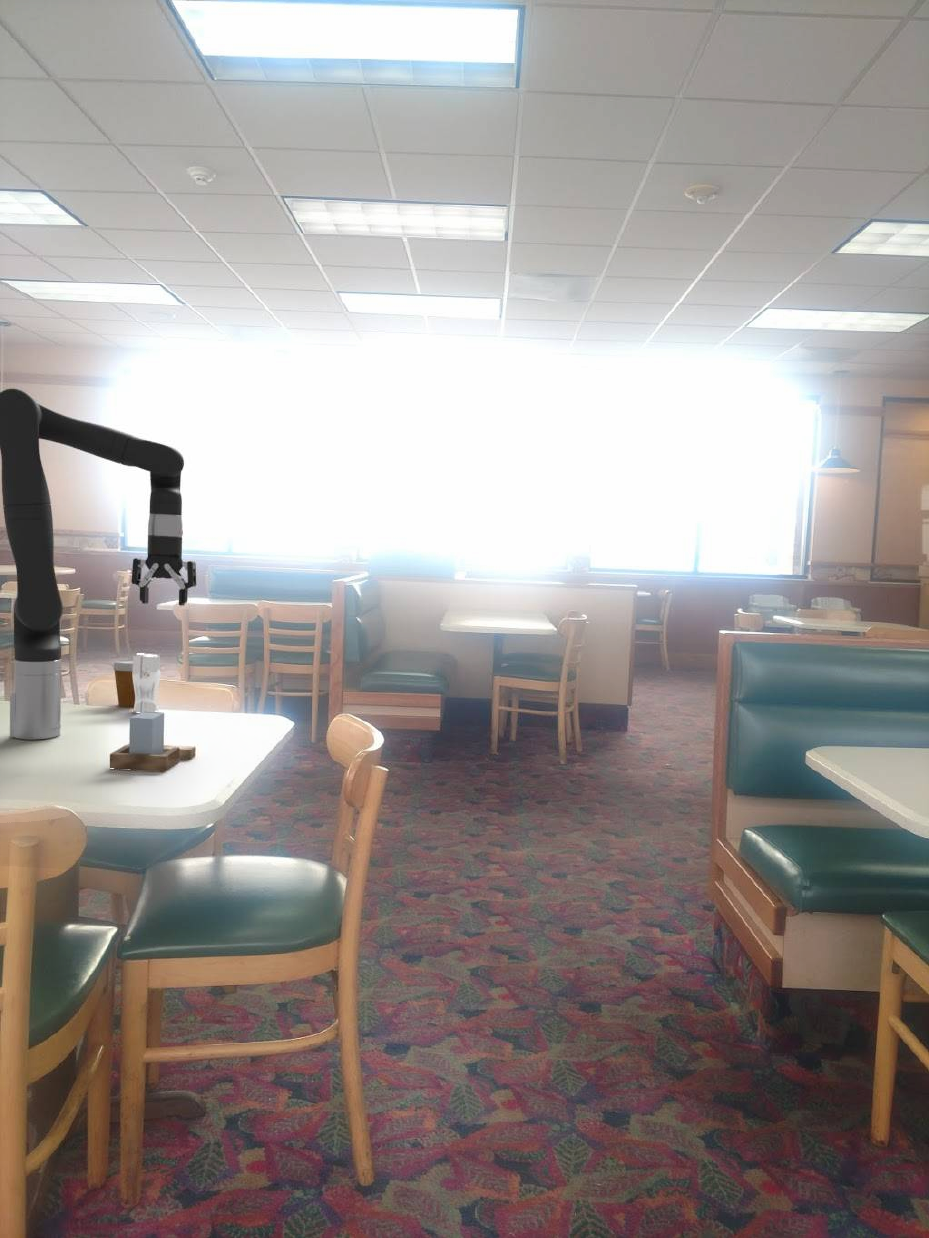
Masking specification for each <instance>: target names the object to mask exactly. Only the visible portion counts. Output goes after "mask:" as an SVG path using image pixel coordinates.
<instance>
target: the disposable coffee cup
mask: <svg viewBox="0 0 929 1238" xmlns="http://www.w3.org/2000/svg"><path fill="white" fill-rule="evenodd" d="M132 664H133V658H132V659H131V658H130V659H129V658H128V659H126V658H125V659H117V660H114V663H113V665H112V668H113V670H114V678H115V684H116V685H115V686H116V687H115V688H116V695H117V702H118V707H123V708H134V704H135V692H134V686H133V679H132Z"/></svg>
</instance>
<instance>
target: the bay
mask: <svg viewBox="0 0 929 1238" xmlns="http://www.w3.org/2000/svg"><path fill="white" fill-rule="evenodd" d="M178 762H179V763H180V759H179V748H177V747H173V748H172V749H170V750H169V751H167V752H166V753H164V754H163V755H154V754H132V753H129V745H127V744H125V745H124V746H122V747H120V748H118V749H116V750H114V751H113V752H111V753H110V754H109V769H110V768H114V769H113V770H115V769H130V770H129V771H137V770H145V771H144V772H159V771H166V772H168V771H169V770H171V769H172V768H173V767H174V766H176V765H177V764H178Z"/></svg>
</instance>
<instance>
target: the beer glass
mask: <svg viewBox="0 0 929 1238" xmlns="http://www.w3.org/2000/svg"><path fill="white" fill-rule="evenodd" d="M132 659H133V664H132V679H133V686H134V692H135V704H134V707H133V709H132V712H133V713H134V712H140V713H141V712H155V711H159V707H158V702H157V701H158V700H157V697H158V690H159V686H160V679H161V672H162V671H161V670H162V669H161V655H160V654H159V653H136V654H133V657H132Z"/></svg>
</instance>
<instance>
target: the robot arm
mask: <svg viewBox="0 0 929 1238" xmlns="http://www.w3.org/2000/svg"><path fill="white" fill-rule="evenodd" d="M40 440H44V441H45V440H46V441H49V442H54V443H57V444H61V445H65V446H68V447H71V448H73V449H76V450H80V451H82V452H85V453H88V454H90V455H91V456H92V455H93V456H95V457H98V458H101V459H104V460H107V461H110V462H114V463H116V464H120V465H122V466H127V467H134V468H139V469H141V470H143V471H146V472H149V477H150V478H149V479H150V481H149V482H150V495H149V496H150V497H149V517H148V522H147V523H148V524H147V557H146V559H142V558H137V557H136V558H133V559H132V568H131V569H132V570H131V579H130V580H131V584H132V585H136V586H137V587H139V601H140V602H141V603H142V604H144V605H145V604H146V605H147V604H149V599H150V597H149V590H150V588H149V587H148V586H150V583H152V581H153V580H155V579H166V580H167V579H168V580H169V579H171V580H174V582H175V583H176V584H177V585H178V587H179V588H180V589H178V606H180V607H182V606H185V604H187V602H188V594H189V592H188V590H189V589H190V588H193V587H196V586H197V566H196V565H197V564H196V562H195V561H194V560H190V561H183V558H182V556H183V553H182V552H183V536H184V535H183V534H184V532H183V531H184V530H183V519H182V518H183V516H182V513H183V511H182V510H183V509H182V508H183V498H182V493H181V482H182V481H181V479H182V471H183V470H184V466H185V460H184V457H183V455H182V454H181V452H180V451H179V450H178V449H176V448H174V447H172V446H170V445H166V444H163V443H159V442H156V441H151V440H147V439H143V438H140V437H137V436H135V435H132V434H129V433H127V432H123V431H121V430H117V429H116V428H112V427H108V426H104V425H101V424H98V423H93V422H89V421H84V420H81V419H76V418H73V417H70V416H66V415H64V414H62V413H59V412H57V411H54V410H52V409H50V408H48V407H45V405H42V404H40V403H38V402H37V400H36V398H34V397H33V396H32V395H31V394H29V393H28V392H26V391H24V390H22V389H19V388H6V389H3V390H2V391H0V456H1V457H0V458H1V495H2V508H3V516H4V524H5V530H6V534H7V538H8V543H9V547H10V550H11V552H12V556H13V560H14V563H15V569H16V586H17V587H16V589H17V590H16V591H17V592H16V594H17V595H16V598H15V601H14V602H13V603H14V604H13V649H14V652H13V653H14V664H13V665H14V666H13V667H14V668H13V669H14V675H13V676H14V677H13V678H14V687H13V688H14V689H13V691H14V692H12V693H11V694H10V696H9V737H10V738H14V739H18V740H29V741H30V740H33V741H34V740H45V739H53V738H56V737H59V736H60V735H61V715H62V712H61V710H62V709H61V703H62V701H61V700H62V699H61V698H62V697H61V695H62V694H61V693H62V692H61V691H62V646H61V645H62V644H61V618H62V616H63V612H64V605H63V602H62V599H61V595H60V590H59V585H58V581H57V576H56V572H55V570H56V569H55V563H54V559H55V558H54V554H55V553H54V550H55V549H54V547H55V546H54V545H55V544H54V543H55V542H54V540H55V539H54V538H55V537H54V521H53V511H52V505H51V503H52V502H51V497H50V491H49V487H48V482H47V479H46V475H45V471H44V468H43V464H42V460H41V455H40ZM145 566H146V567H147V569H148V571H147V572H146V573H145V575H144V576H143V578H142V572H143V571H142V570H143V568H145ZM183 567H184V570H185V571H186V573H187V574H186V575H187V581H186V580H185V577H184V576H183V574H182V573H181V570H182V568H183Z"/></svg>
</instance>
